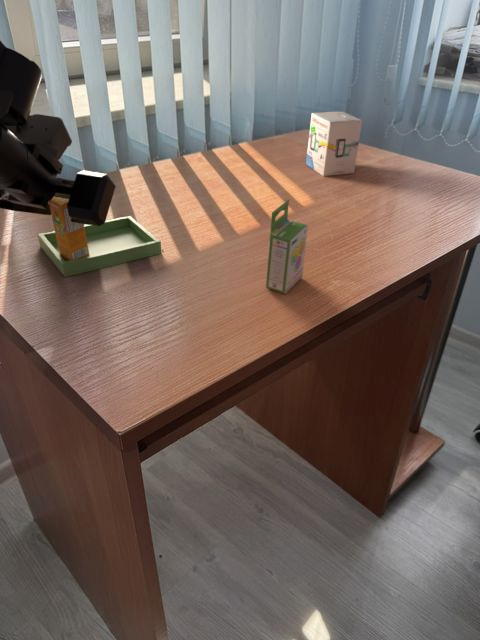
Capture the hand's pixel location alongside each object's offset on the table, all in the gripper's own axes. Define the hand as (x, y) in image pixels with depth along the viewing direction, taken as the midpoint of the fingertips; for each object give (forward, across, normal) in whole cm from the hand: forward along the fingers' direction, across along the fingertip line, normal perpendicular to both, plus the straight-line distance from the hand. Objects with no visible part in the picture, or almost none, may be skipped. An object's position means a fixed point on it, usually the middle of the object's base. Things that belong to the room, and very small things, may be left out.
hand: (74, 216), depth 75 cm
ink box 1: (+9, -30, +2) cm, 32 cm away
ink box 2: (+48, -27, -38) cm, 67 cm away
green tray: (+8, -1, +2) cm, 8 cm away
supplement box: (+4, 0, +6) cm, 7 cm away
